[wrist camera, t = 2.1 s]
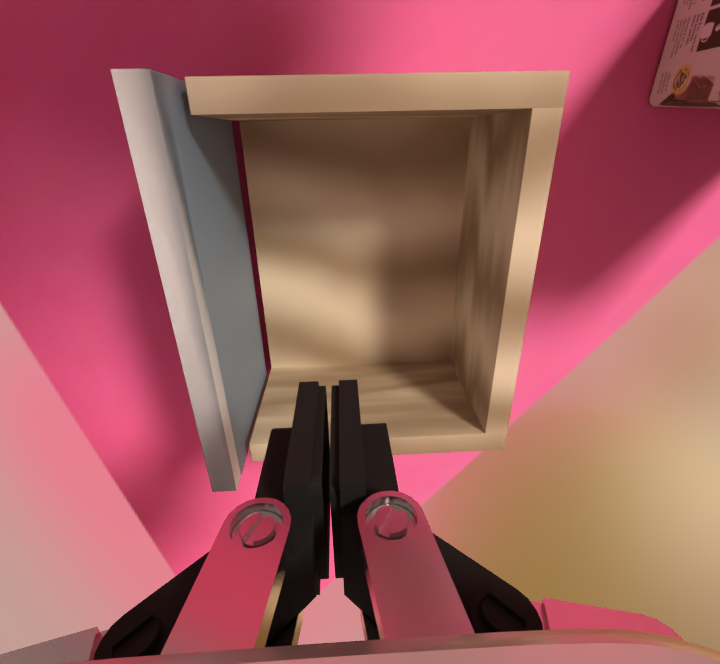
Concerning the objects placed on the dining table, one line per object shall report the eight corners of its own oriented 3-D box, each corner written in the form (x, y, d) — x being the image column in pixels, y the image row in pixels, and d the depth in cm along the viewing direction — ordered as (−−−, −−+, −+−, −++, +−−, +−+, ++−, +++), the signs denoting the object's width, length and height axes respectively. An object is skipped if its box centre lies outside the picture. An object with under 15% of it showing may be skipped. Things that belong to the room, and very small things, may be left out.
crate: (239, 97, 23) (184, 76, 14) (489, 93, 23) (570, 70, 15) (275, 374, 30) (252, 461, 22) (460, 367, 31) (504, 449, 23)
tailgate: (208, 97, 22) (110, 68, 13) (230, 97, 22) (149, 68, 13) (252, 378, 30) (212, 491, 20) (269, 377, 30) (236, 490, 21)
